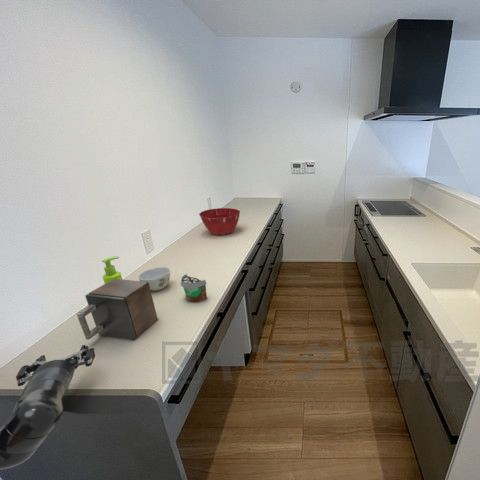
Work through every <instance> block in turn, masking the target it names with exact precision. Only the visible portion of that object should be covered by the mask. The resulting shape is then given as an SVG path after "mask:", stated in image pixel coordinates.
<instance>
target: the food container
mask: <svg viewBox="0 0 480 480" xmlns="http://www.w3.org/2000/svg"><path fill="white" fill-rule="evenodd" d="M180 286H181V287H182V288H183V292H184V294H185V298H186V300H187V302H190V303H199V302H203V301H205V300H207V299H208V298H207V297H208V295H207V281H206V279H203V280H202V279H199V278H197V277H193V276H188V274H187V273H186V274H183V276H182V277H181V279H180Z"/></svg>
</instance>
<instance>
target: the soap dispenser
mask: <svg viewBox="0 0 480 480" xmlns="http://www.w3.org/2000/svg"><path fill="white" fill-rule="evenodd" d="M117 259H120V257H119V256H109V257H107V258H104V259H102V260H101V262H102V263H104V264H105V266H104V267H103V270H104V274H103V275H102V279H103V283H104V284H106V283H108V282H110V281H111V280H113V279H123V277H122V274H121V272H120V271H117V270H116V266H115V265H114V264H112V262H111V261H113V260H117Z"/></svg>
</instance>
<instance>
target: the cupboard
mask: <svg viewBox="0 0 480 480" xmlns="http://www.w3.org/2000/svg"><path fill="white" fill-rule="evenodd" d="M88 294H93V295H102V296H111V297H120V298H125V301H126V304H127V307H128V311H129V314H130V317H131V321H132V324H133V328H134V331H135V334H136V339H137V338H139V337H140V336H141V335H143V333H145V332H146V331H147V330H148V329H149V328H151V327H152V326H153V325H154V324H155V323H157V321H158V320H159V319H158V315H157V311H156V307H155V303H154V299H153V295H152V290H150V286H149V282H143V281H140V280H132V279H131V280H130V279H123V278H122V279H113V280H111V281H110V282H108V283H106V284H105V283H104V284H102V285H100V286H98V287H97V288H95V289H93V290H91V291H90V292H88Z"/></svg>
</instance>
